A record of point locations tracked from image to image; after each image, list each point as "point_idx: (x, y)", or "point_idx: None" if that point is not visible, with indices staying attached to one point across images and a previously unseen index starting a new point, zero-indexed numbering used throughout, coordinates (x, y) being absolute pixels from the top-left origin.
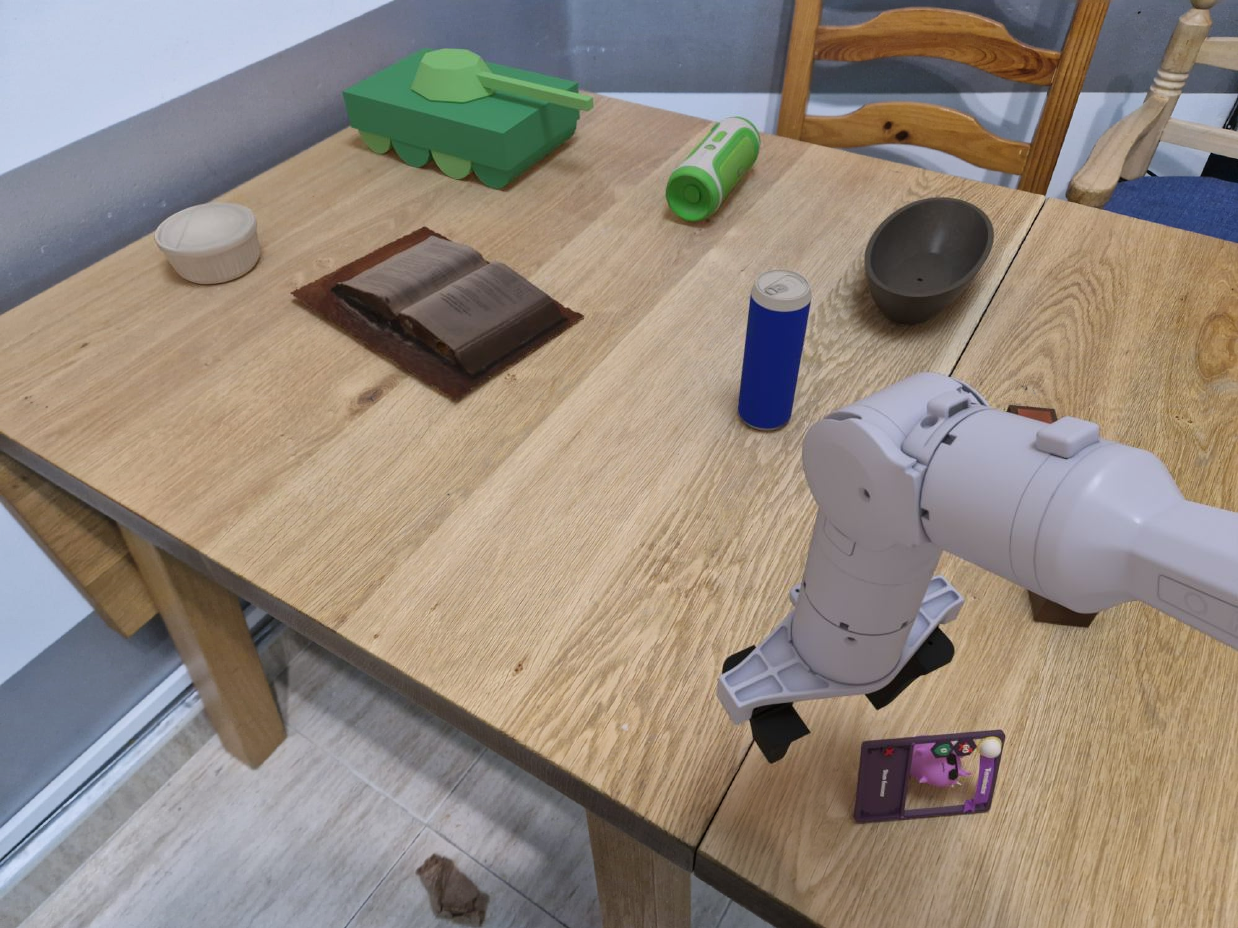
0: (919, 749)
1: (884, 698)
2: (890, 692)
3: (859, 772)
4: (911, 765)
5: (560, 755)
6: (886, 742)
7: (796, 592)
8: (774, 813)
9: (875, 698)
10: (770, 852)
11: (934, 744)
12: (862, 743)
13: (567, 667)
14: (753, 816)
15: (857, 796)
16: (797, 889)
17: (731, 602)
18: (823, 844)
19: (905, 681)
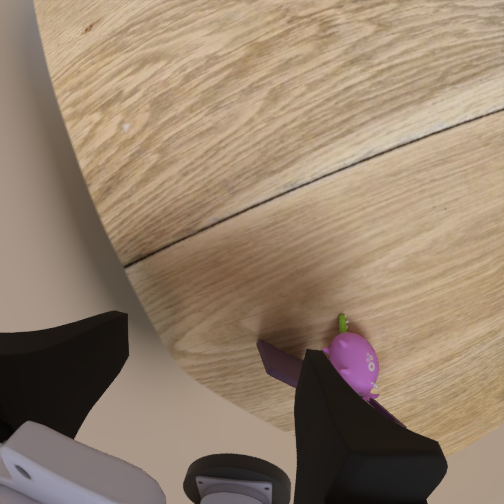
0: (342, 371)
1: (296, 419)
2: (297, 438)
3: (263, 357)
4: (331, 361)
5: (68, 126)
6: (294, 386)
7: (19, 469)
8: (197, 290)
9: (298, 394)
10: (172, 312)
11: (357, 379)
12: (270, 368)
13: (120, 42)
14: (178, 280)
15: (259, 350)
16: (174, 346)
17: (333, 57)
18: (218, 336)
19: (295, 492)
